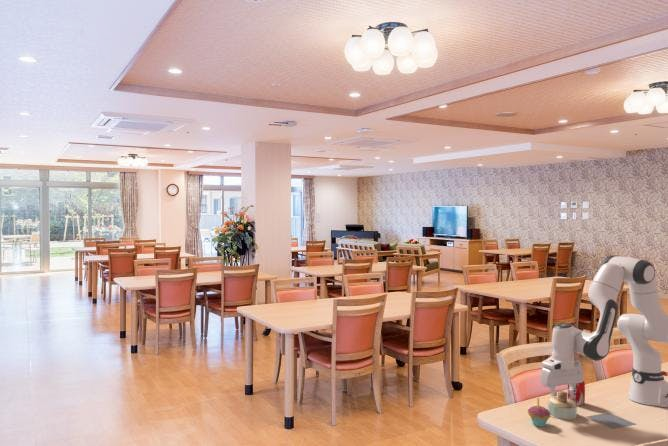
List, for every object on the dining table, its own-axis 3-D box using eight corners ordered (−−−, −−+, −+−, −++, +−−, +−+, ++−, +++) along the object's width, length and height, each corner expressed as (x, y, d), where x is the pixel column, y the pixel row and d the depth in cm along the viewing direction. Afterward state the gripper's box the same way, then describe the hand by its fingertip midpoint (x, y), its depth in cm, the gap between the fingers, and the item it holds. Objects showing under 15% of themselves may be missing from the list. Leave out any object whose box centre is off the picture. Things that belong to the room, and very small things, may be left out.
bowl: (562, 409, 227) (562, 397, 227) (582, 418, 217) (582, 406, 217) (542, 412, 223) (542, 400, 223) (561, 422, 213) (561, 409, 213)
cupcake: (548, 430, 204) (548, 400, 204) (525, 425, 209) (525, 395, 209) (551, 423, 212) (552, 393, 212) (529, 418, 216) (530, 389, 216)
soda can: (586, 408, 229) (587, 380, 229) (569, 406, 230) (569, 379, 230) (582, 402, 236) (582, 376, 236) (565, 401, 237) (566, 374, 237)
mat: (609, 414, 222) (609, 412, 222) (636, 425, 210) (636, 424, 210) (585, 417, 217) (585, 416, 217) (612, 430, 205) (612, 428, 205)
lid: (562, 398, 226) (562, 387, 226) (580, 406, 217) (581, 395, 217) (544, 401, 222) (544, 390, 222) (562, 409, 213) (562, 397, 213)
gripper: (575, 358, 226) (575, 389, 226) (538, 362, 219) (538, 395, 219) (587, 362, 220) (587, 394, 220) (549, 366, 213) (549, 400, 213)
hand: (562, 394), depth 220 cm, fingers open, 8 cm apart
